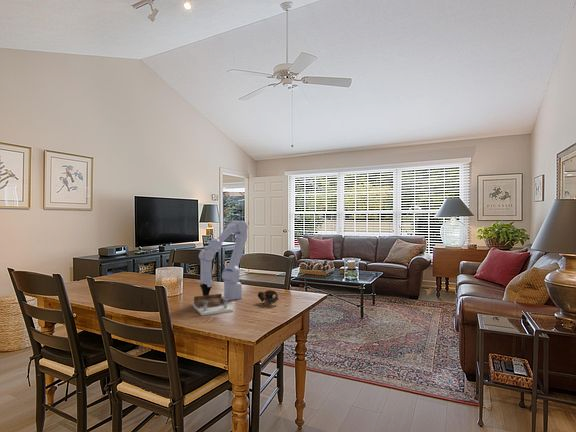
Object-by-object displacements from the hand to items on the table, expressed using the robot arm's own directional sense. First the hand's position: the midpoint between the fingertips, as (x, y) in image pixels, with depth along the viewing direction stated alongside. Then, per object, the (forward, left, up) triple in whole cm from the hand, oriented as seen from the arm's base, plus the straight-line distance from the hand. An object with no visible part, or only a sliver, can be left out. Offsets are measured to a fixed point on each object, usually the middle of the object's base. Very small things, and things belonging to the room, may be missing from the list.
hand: (205, 298), depth 179 cm
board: (0, +12, -3) cm, 12 cm away
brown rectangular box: (0, +8, -1) cm, 8 cm away
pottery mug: (-29, +16, -3) cm, 33 cm away
